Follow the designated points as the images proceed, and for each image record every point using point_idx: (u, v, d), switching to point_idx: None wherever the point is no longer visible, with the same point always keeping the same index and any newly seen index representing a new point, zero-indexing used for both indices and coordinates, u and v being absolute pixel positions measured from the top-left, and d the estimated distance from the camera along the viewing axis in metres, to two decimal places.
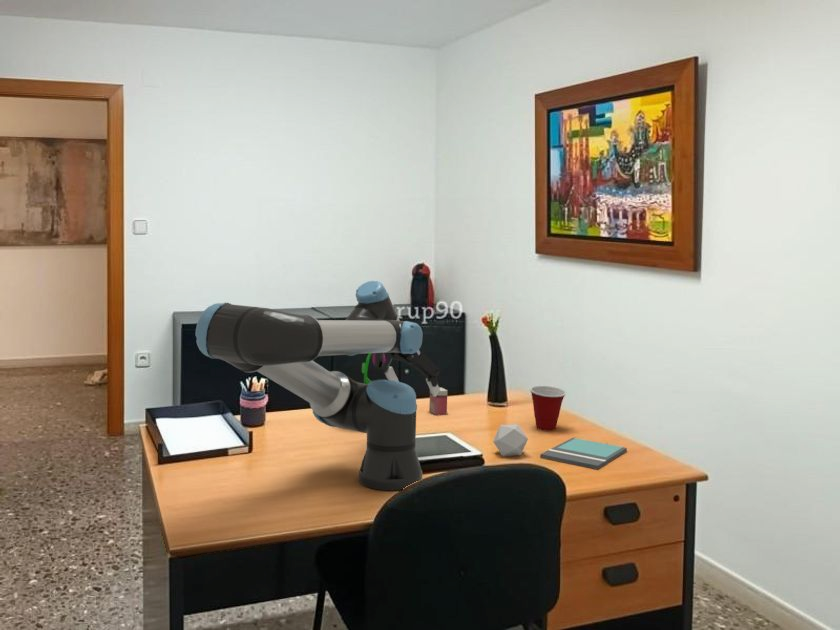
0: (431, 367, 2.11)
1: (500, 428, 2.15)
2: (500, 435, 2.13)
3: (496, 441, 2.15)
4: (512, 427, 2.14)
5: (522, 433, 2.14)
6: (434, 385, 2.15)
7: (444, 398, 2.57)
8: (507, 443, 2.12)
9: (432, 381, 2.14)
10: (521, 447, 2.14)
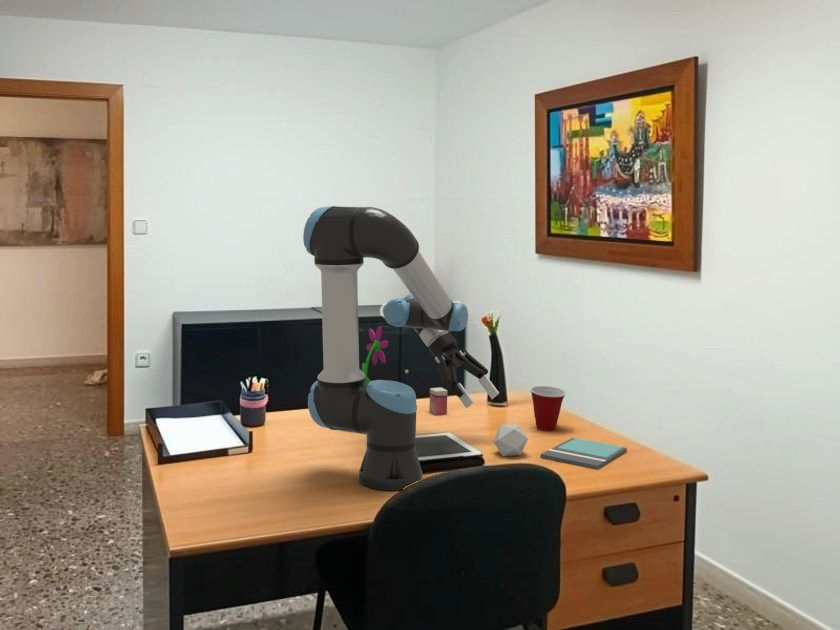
0: None
1: (500, 428, 2.15)
2: (500, 435, 2.13)
3: (496, 441, 2.15)
4: (512, 427, 2.14)
5: (522, 433, 2.14)
6: None
7: (444, 398, 2.57)
8: (507, 443, 2.12)
9: (487, 378, 2.28)
10: (521, 447, 2.14)
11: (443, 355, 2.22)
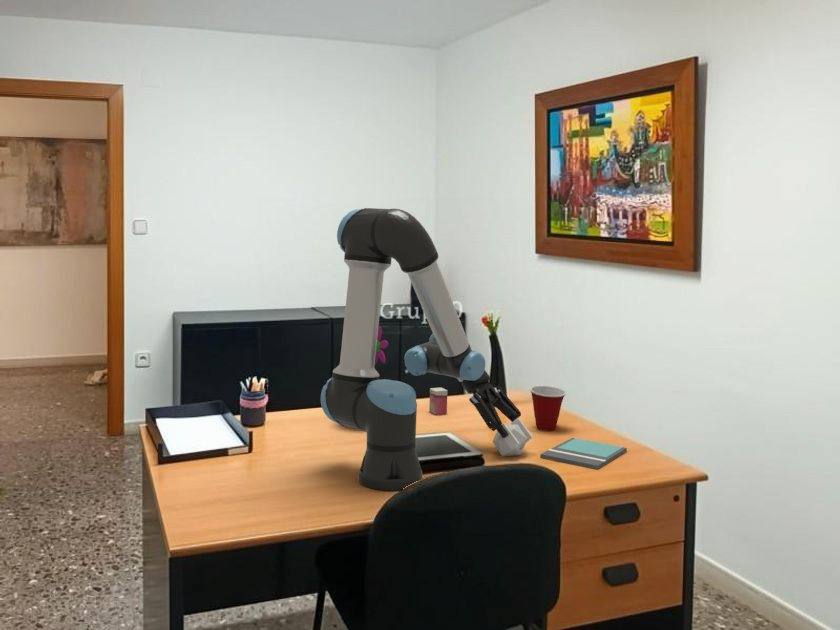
0: None
1: None
2: (500, 435, 2.13)
3: (496, 441, 2.15)
4: (512, 427, 2.14)
5: (522, 433, 2.14)
6: None
7: (444, 398, 2.57)
8: (506, 443, 2.12)
9: None
10: (521, 447, 2.14)
11: (477, 391, 2.16)
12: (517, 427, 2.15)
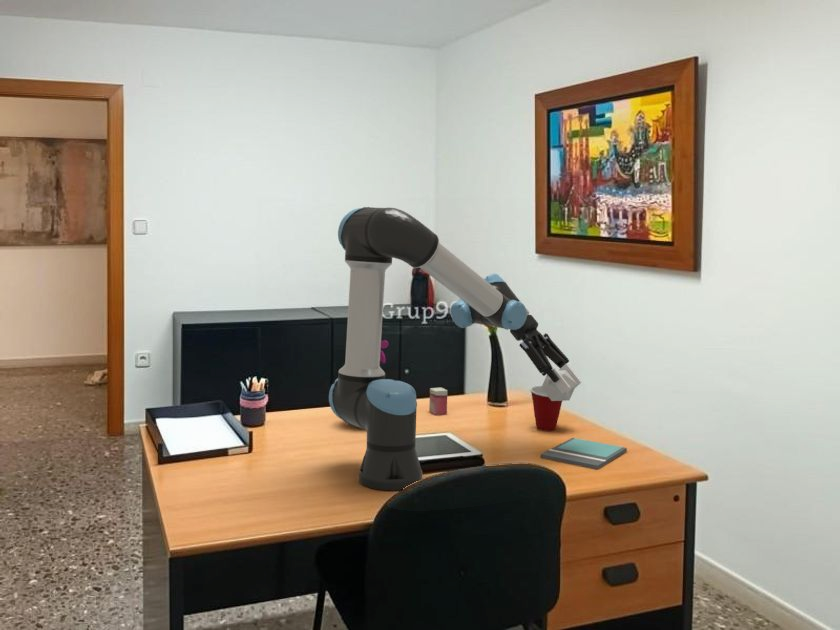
0: None
1: None
2: (550, 380, 2.15)
3: (545, 386, 2.16)
4: (561, 372, 2.16)
5: (571, 378, 2.16)
6: None
7: (444, 398, 2.57)
8: (557, 388, 2.14)
9: None
10: (570, 392, 2.16)
11: (526, 337, 2.17)
12: (566, 372, 2.17)
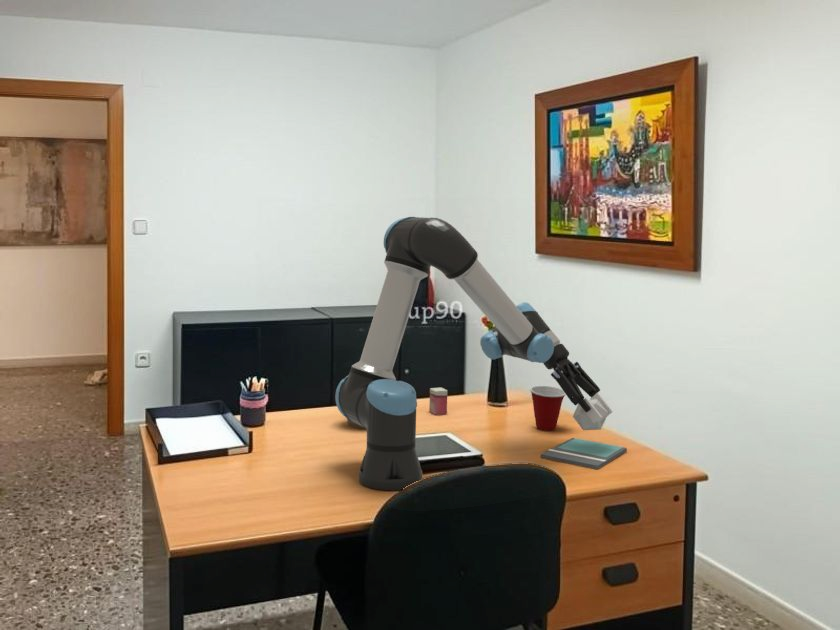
0: None
1: None
2: (581, 409, 2.16)
3: (577, 415, 2.17)
4: (593, 401, 2.17)
5: (602, 407, 2.17)
6: None
7: (444, 398, 2.57)
8: (588, 417, 2.15)
9: None
10: (602, 421, 2.16)
11: (558, 366, 2.18)
12: (598, 402, 2.18)
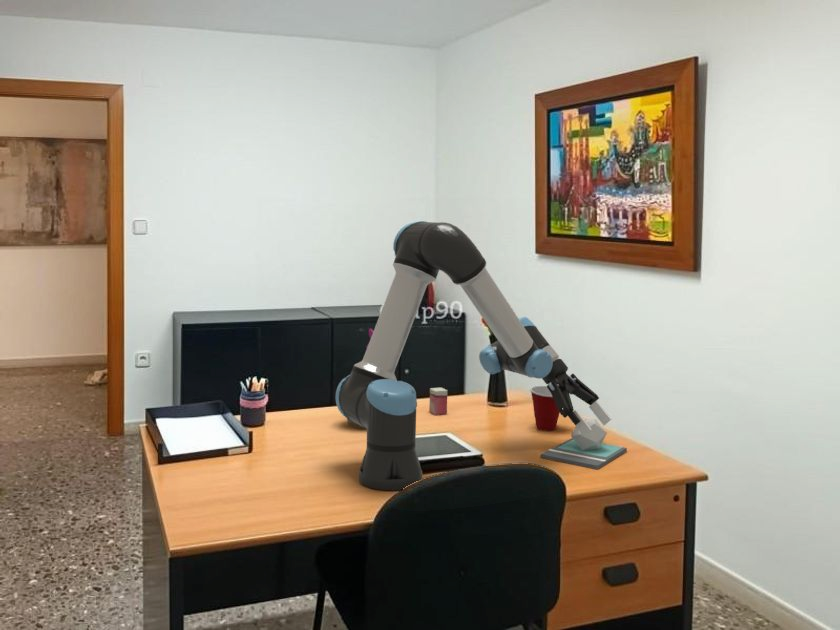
0: None
1: None
2: None
3: (575, 436, 2.17)
4: (591, 421, 2.17)
5: (601, 427, 2.17)
6: None
7: (444, 398, 2.57)
8: (587, 437, 2.15)
9: None
10: (600, 441, 2.17)
11: (556, 381, 2.19)
12: (596, 421, 2.18)
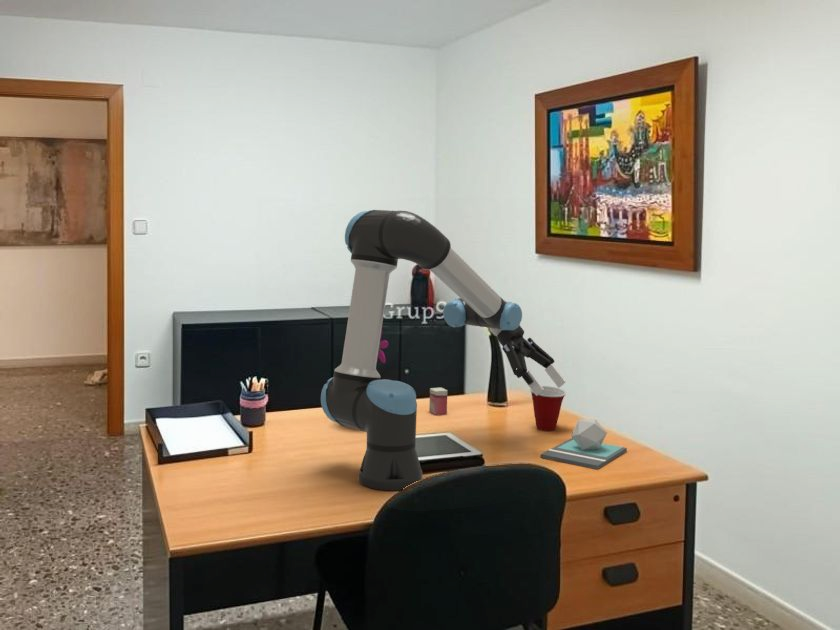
0: None
1: (579, 423, 2.18)
2: (580, 430, 2.16)
3: (575, 436, 2.17)
4: (591, 422, 2.17)
5: (601, 427, 2.17)
6: None
7: (444, 398, 2.57)
8: (587, 437, 2.15)
9: None
10: (600, 441, 2.17)
11: (512, 344, 2.25)
12: (596, 421, 2.18)
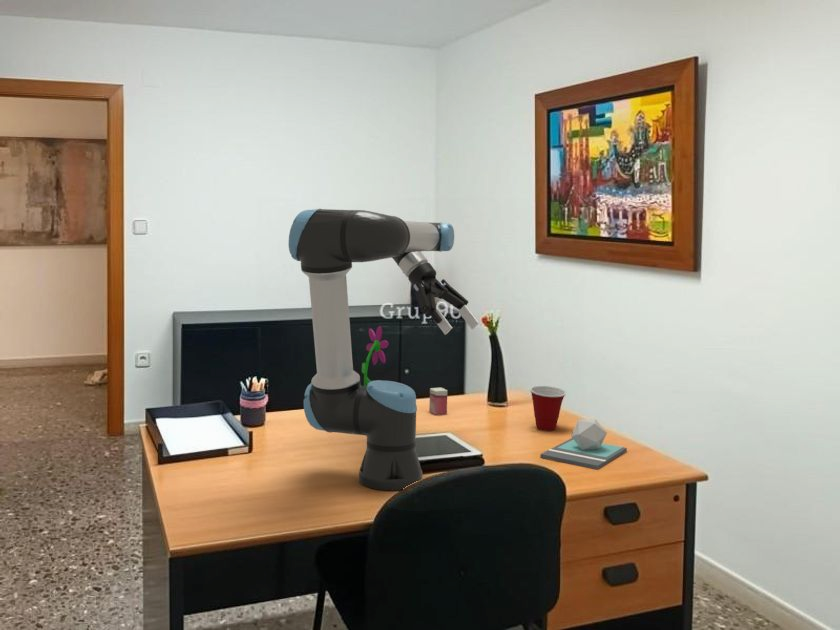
0: None
1: (579, 423, 2.18)
2: (580, 430, 2.16)
3: (575, 436, 2.17)
4: (591, 421, 2.17)
5: (601, 427, 2.17)
6: None
7: (444, 398, 2.57)
8: (587, 437, 2.15)
9: None
10: (600, 441, 2.17)
11: (422, 283, 2.20)
12: (596, 421, 2.18)
